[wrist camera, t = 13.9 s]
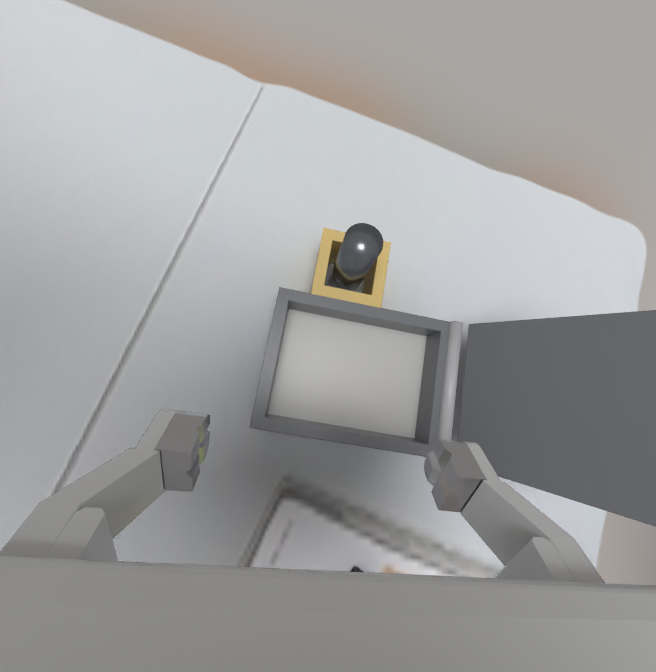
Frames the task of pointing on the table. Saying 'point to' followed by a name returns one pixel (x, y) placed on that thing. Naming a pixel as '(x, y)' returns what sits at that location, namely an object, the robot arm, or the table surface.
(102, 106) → the table surface
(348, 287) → the rod
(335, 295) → the frame
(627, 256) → the table surface
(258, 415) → the case
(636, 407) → the case lid
